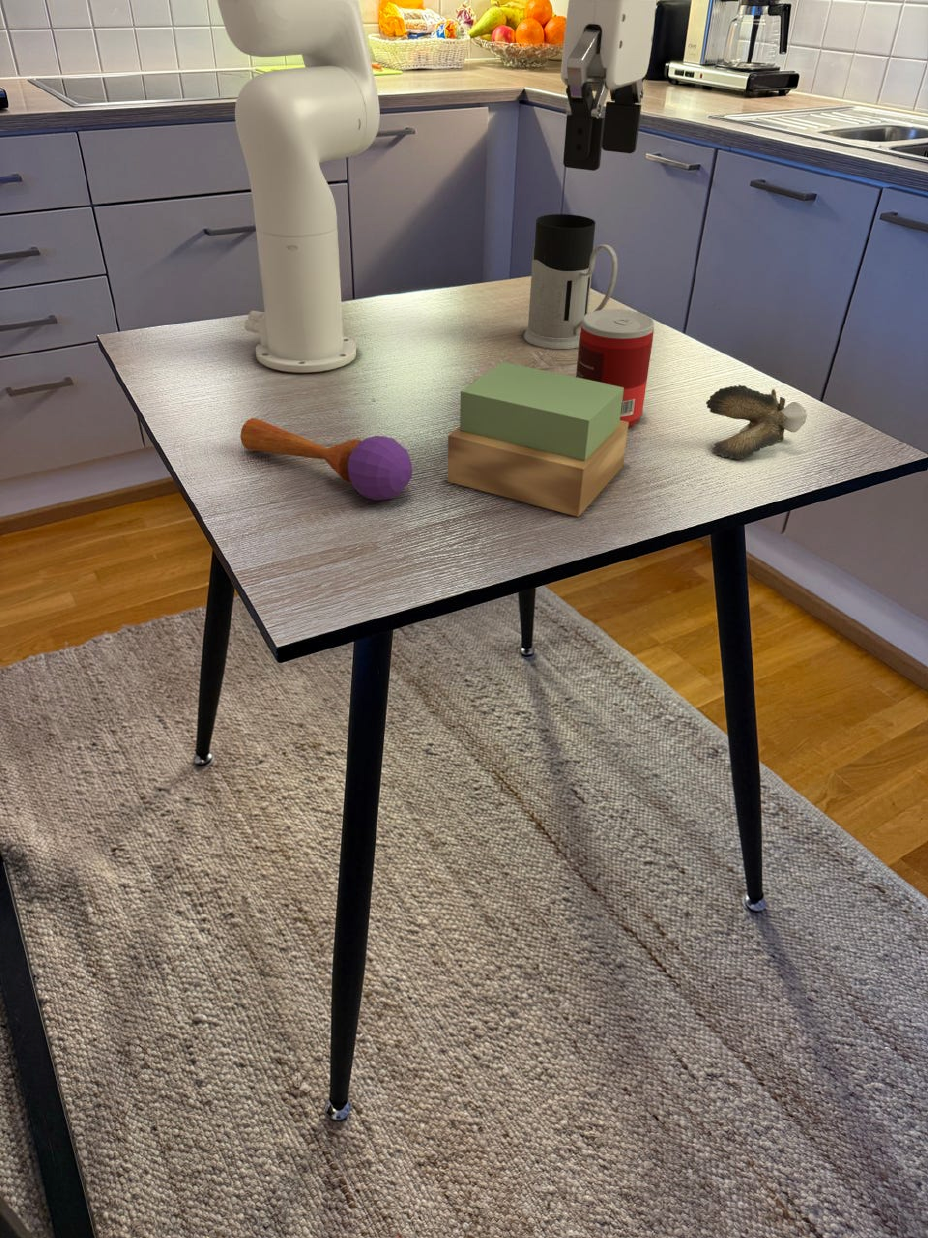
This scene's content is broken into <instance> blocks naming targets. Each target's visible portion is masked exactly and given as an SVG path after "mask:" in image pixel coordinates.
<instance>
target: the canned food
mask: <svg viewBox="0 0 928 1238" xmlns="http://www.w3.org/2000/svg"><path fill="white" fill-rule="evenodd" d="M593 311H594V312H593ZM593 311H591V312H588V314H586V315H585V316H584V317H583V318H582V323H581V331H580V340H579V347H578V353H577V363H576V374H575V375H576V376H575V377H577V378H582V379H586V380H591V381H596V382H600V383H605V384H610V385H615V386H619V387H624V391H623V399H622V407H621V414H620V420H622V421H626V422H629V425H628V428H630V427H633V426H634V425H636V424H637V423H638V422H639V420H640V418H641V416H642V414H643V408H644V404H645V403H644V402H645V396H646V389H647V381H648V374H649V370H650V369H649V368H650V362H651V355H652V346H653V341H654V332H655V321H654V319H652V318H651V317H650V316H648V315H646V314H644V313H640V312H638V311H632V310H627V309H613V308H612V309H611V308H610V309H602V310H599V311H595V310H593Z"/></svg>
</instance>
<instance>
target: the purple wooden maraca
mask: <svg viewBox="0 0 928 1238" xmlns="http://www.w3.org/2000/svg"><path fill="white" fill-rule="evenodd" d="M239 437H240V442H241V444H242V446H243V448H244V449H246V450H248V451H254V452H262V453H268V454H278V455H286V456H293V457H302V458H311V459H319V460H324V461H325V462H326V463H327V464H328V465H329V466H330V468H332V469H333V470H334V472H336V474H337V475H338V476H339V477H340V478H341V479H342V480H343V481H344V482H345V483H347V484H351V485H352V487H353V488H354V489H355V490H356V491H357V492H358V493H359V494H361V495H362V496H363V497H365V498H366V499H369V500H374V501H387V500H391V499H394V498H396V497H398V496H399V495H400V494H401V493H402V492H403V491H404V490H405V489H406V488H407V486H408V485H410V482H411V479H412V474H413V464H412V460H411V457H410V455H409V452H408V450H407V449H406V448H405V447H404V446H403V445H402V444H400V442H398V441H397V440H396V439H395V438H393V437H389V436H384V435H373V436H370V437H367V438H365V439H362V440H361V439H356V438H355V439H354V438H353V439H351V440H348V441H345V442H342V443H339V444H335V445H333V446H329V447H326V446H324V445H323V446H322V445H321V444H318V443H316V442H314V441H311V440H309V439H306V438H304V437H302V436H300V435H297V434H295V433H292V432H290V431H287V430H285V429H283V428H280V427H279V426H275V425H273V424H272V423H269V422H266V421H264V420H262V419H260V418H257V417H252V418H249V419H247V420H246V421H245V422H244V423H243V425H242V427H241V429H240V436H239Z"/></svg>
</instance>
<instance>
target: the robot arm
mask: <svg viewBox="0 0 928 1238" xmlns="http://www.w3.org/2000/svg"><path fill="white" fill-rule="evenodd" d="M216 1H217V5H218V8H219V12H220V15H221V19H222V22H223V25H224V28H225V31H226V33H227V36H228V38H229V39H230V42H231V43H232V45H233V46H234V47H235V48H236V49H237V50H238V51H240V53H242V54H243V55H248V56H251V57H255V58H256V57H257V58H277V57H290V56H300V55H301V57H302V60H303V65H304V67H303V66H301V67H291V68H282V69H275V70H270V71H266V72H263V73H259V74H258V75H256V76H254V77H252V78H250V79H249V80H248V81H247V82H246V83H245V84H244V85H243V86H242V88H241V89H240V91H239V93H238V95H237V98H236V101H235V107H234V122H235V127H236V132H237V137H238V141H239V144H240V148H241V151H242V154H243V155H242V156H243V158H244V161H245V165H246V169H247V174H248V179H249V184H250V192H251V196H252V207H253V214H254V215H253V216H254V225H255V232H256V233H255V234H256V242H257V243H256V244H257V253H258V262H259V272H260V282H261V283H260V284H261V292H262V302H263V311H264V312H262V311H258V310H251V311H250V312H249V314H248V317H247V319H246V320H245V321H244V330H245V331H247V332H251V333H258V334H259V339H260V342H259V343H258V344H257V345H256V347H255V355H256V359H257V361H258V362H259V363H260V364H261V365H263V366H264V367H266V368H270V369H272V370H275V371H279V372H286V373H298V374H300V373H301V374H303V373H304V374H306V373H309V374H310V373H321V372H327V371H332V370H335V369H336V370H337V369H339V368H342V367H344V366H346V365H348V364H350V363H351V362H352V361H354V359H355V358H356V357H357V345H356V343H355V342H354V341H353V340H352V339H351V338H349V337H347V336H345V335H344V325H343V307H342V305H343V303H342V284H341V268H340V267H341V266H340V249H339V248H340V247H339V229H338V216H337V215H338V214H337V206H336V201H335V198H334V194H333V193H332V191H331V187H330V186H329V183H328V182H327V180H326V178H325V176H324V174H323V172H322V169H321V167H320V164H322V163H325V162H329V161H334V160H335V161H336V160H340V159H346V158H349V157H353V156H357V155H360V154H361V153H363V152H365V151H366V150H368V149H369V148H370V147H371V145H372V144H373V143H374V141H375V140H376V137H377V135H378V131H379V127H380V118H381V114H380V113H381V111H380V110H381V109H380V101H379V94H378V88H377V83H376V79H375V73H374V69H373V65H372V60H371V56H370V50H369V45H368V41H367V36H366V31H365V25H364V22H363V17H362V12H361V8H360V4H359V0H216ZM656 8H657V0H568V4H567V12H566V19H565V20H566V21H565V29H564V39H563V47H562V56H561V65H560V67H561V68H560V78H561V81H562V82H563V84H564V85H565V86H566V87H565V94H566V96H567V102H566V105H565V114H566V121H565V132H564V133H565V134H564V146H563V158H562V159H563V160H562V164H563V166H564V167H565V168H567V169H577V170H584V171H592V172H595V171H597V170H599V169H600V167H601V161H602V150H604V151H605V152H614V153H623V154H633V153H635V152H636V150H637V147H638V146H637V144H638V137H639V129H640V120H641V112H642V102H643V99H644V86H643V83H644V81H645V79H646V76H647V72H648V69H649V64H650V59H651V52H652V47H653V39H654V29H655V19H656ZM594 92H596V93H595V95H594ZM608 94H609V97H610V101H608V100H607V96H608ZM606 100H607V101H606ZM604 106H605V112H604V117H601V115H602V113H603V109H604Z"/></svg>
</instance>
